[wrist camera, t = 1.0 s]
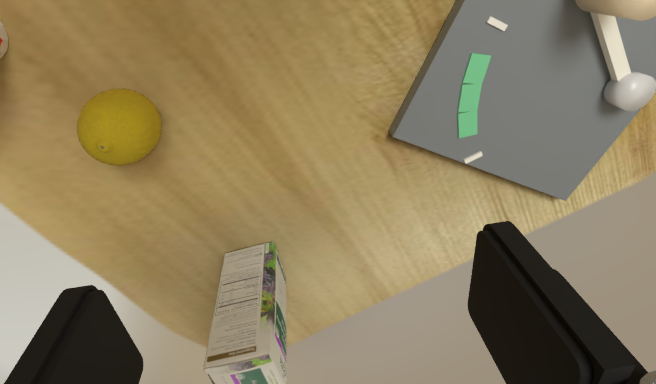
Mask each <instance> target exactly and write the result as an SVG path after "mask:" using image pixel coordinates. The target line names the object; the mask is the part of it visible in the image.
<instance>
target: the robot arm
mask: <svg viewBox="0 0 656 384" xmlns="http://www.w3.org/2000/svg"><path fill="white" fill-rule="evenodd" d="M468 310H469V313H470V316H471V318H472V320H473V322H474V324H475V326H476V328H477V330H478V332H479V333H480V335H481V337H482V339H483V341H484V343H485V345H486V347H487V348H488V350H489V352H490V354H491V356H492V358H493V360H494V361H495V363H496V365H497V367H498V369H499V371H500V373H501V374H502V376H503V378H504V380H505V382H506V384H656V371H652V372H649V373H648V372H647V371H646V370H645V369H644V368H643V366H642V365H641V364H640V363H639V362H638V361H637V360H636V359H635V357H634V356H633V355H632V354H631V353H630V352H629V351H628V349H627V348H626V347H625V346H624V345H623V344H622V343H621V342H620V340H619V339H618V338H617V337H616V336H615V335H614V334H613V332H612V331H611V330H610V329H609V328H608V327H607V326H606V325H605V324H604V322H603V321H602V320H601V319H600V318H599V317H598V316H597V314H596V313H595V312H594V311H593V310H592V309H591V308H590V306H589V305H588V304H587V303H586V302H585V301H584V300H583V299H582V297H581V296H580V295H579V294H578V293H577V292H576V291H575V290H574V288H573V287H572V286H571V285H570V284H569V283H568V282H567V281H566V279H565V278H564V277H563V276H562V275H561V274H560V273H559V272H558V271H556V270H554V269H552V268H551V267H550V266H549V264H548V263H547V262H546V261H545V260H544V259H543V258H542V256H541V255H540V254H539V253H538V252H537V251H536V250H535V249H534V247H533V246H532V245H531V244H530V243H529V242H528V240H527V239H526V238H525V237H524V236H523V235H522V234H521V232H520V231H519V230H518V229H517V228H516V227H515V225H514V224H512V223H511V222H509V221H506V222H499V223H493V224H487V225H485V226H484V228H483V231H479V232H478V234H477V240H476V247H475V254H474V262H473V269H472V276H471V284H470V291H469V298H468ZM142 371H143V359H142V356H141V354H140V352H139V351H138V349H137V347H136V346H135V344H134V342H133V340H132V339H131V337H130V335H129V334H128V332H127V330H126V328H125V327H124V325H123V323H122V322H121V320H120V318H119V316H118V315H117V313H116V311H115V310H114V308H113V306H112V304H111V303H110V301H109V299H108V298H107V296H106V294H105V293H104V291H102V290H98V289H97V288H96V287H95V286H93V285H91V286H82V287H76V288H69V289H66V290H64V291H63V292H62V293H61V294H60V295H59V297H58V299H57V300H56V302H55V303H54V305H53V307H52V308H51V310H50V311H49V313H48V315H47V316H46V318H45V320H44V321H43V323H42V324H41V326H40V327H39V329H38V330H37V332H36V334H35V335H34V337H33V338H32V340H31V342H30V343H29V345H28V346H27V348H26V350H25V351H24V353H23V354H22V356H21V358H20V359H19V361H18V363H17V364H16V365H15V367H14V369H13V370H12V372H11V373H10V375H9V377H8V379H7V380H6V382H5V383H4V384H139V380H140V378H141V374H142Z"/></svg>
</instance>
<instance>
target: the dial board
mask: <svg viewBox="0 0 656 384" xmlns="http://www.w3.org/2000/svg"><path fill="white" fill-rule="evenodd" d="M615 18H616V22H617V25H618V29H619V32H620V36H621V39H622V43H623V46H624V50H625V53H626V57H627V60H628V64H629V67H630V70H633V71H636V72H639V73H642V74H645V75H648V76H651V77H653V78H654V79H655V81H656V16H655V17H653V18H651V19H648V20H644V21H638V20H632V19H627V18H621V17H615ZM610 79H611V76H610V73H609V70H608V67H607V64H606V61H605V57H604V54H603V51H602V48H601V45H600V42H599V39H598V35H597V32H596V29H595V26H594V23H593V20H592V17H591V14H590V12H587V11H583V10H581V9H580V8H579V7H578V6H577V4H576V1H575V0H456V2H455V4H454V6H453V8H452V10H451V12H450V14H449V15H448V17H447V19H446V21H445V23H444V25H443V27H442V29H441V31H440V33H439V35H438V37H437V39H436V41H435V42H434V44H433V46H432V48H431V50H430V52H429V54H428V56H427V58H426V60H425V62H424V64H423V66H422V68H421V69H420V71H419V73H418V75H417V77H416V79H415V81H414V83H413V85H412V87H411V89H410V91H409V93H408V95H407V96H406V98H405V100H404V102H403V104H402V106H401V108H400V110H399V112H398V114H397V116H396V118H395V120H394V122H393V123H392V125H391V127H390V129H389V132H390V134H391V135H392V137H394V138H397V139H400V140H402V141H405V142H408V143H411V144H413V145H416V146H419V147H421V148H424V149H427V150H429V151H432V152H435V153H438V154H440V155H443V156H446V157H448V158H451V159H454V160H457V161H459V162H462V163H465V164H467V165H470V166H473V167H475V168H478V169H481V170H484V171H486V172H489V173H492V174H494V175H497V176H500V177H503V178H505V179H508V180H511V181H513V182H516V183H519V184H521V185H524V186H527V187H530V188H532V189H535V190H538V191H540V192H543V193H546V194H549V195H551V196H554V197H557V198H559V199H562V200H565V201H566V200H567V198H568V197H569V196H570V195H571V193H572V192H573V191H574V190H575V189H576V187H577V186H578V185H579V184H580V183H581V181H582V180H583V179H584V178H585V176H586V175H587V174H588V173H589V172H590V170H591V169H592V168H593V167H594V165H595V164H596V163H597V162H598V161H599V159H600V158H601V157H602V156H603V155H604V153H605V152H606V151H607V150H608V148H609V147H610V146H611V145H612V144H613V142H614V141H615V140H616V139H617V137H618V136H619V135H620V134H621V133H622V131H623V130H624V129H625V128H626V127H627V125H628V124H629V123H630V122H631V120H632V119H633V118H634V117H635V116H636V114H637V113H638V112H639V111H640V109H641V108H640V109H638V110H635V111H626V110H623V109H621V108H619V107H617V106H614V105H612V104H610V103H608V102H607V101H606V100H605V98H604V90H605V87H606V85H607V83H608V82H609V80H610Z"/></svg>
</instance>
